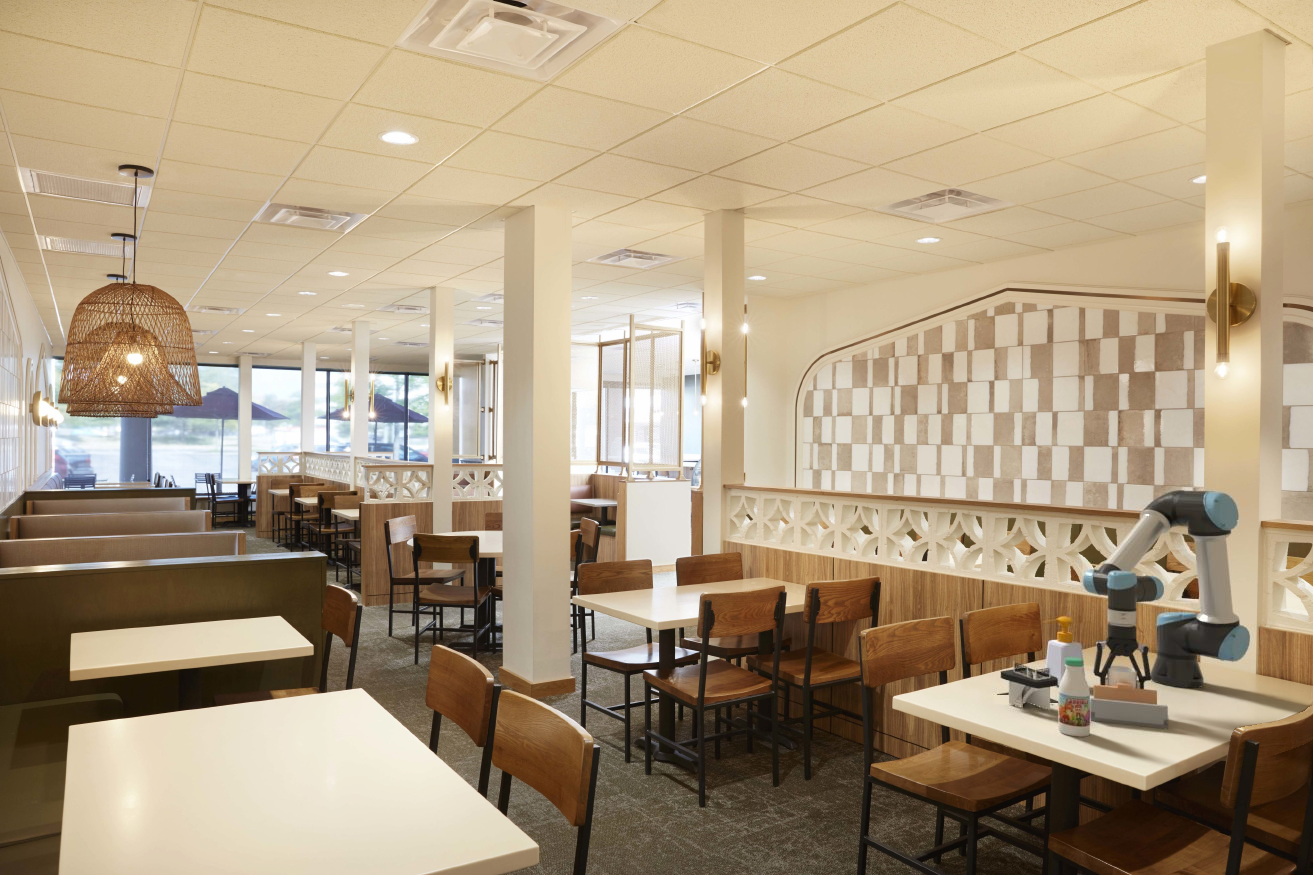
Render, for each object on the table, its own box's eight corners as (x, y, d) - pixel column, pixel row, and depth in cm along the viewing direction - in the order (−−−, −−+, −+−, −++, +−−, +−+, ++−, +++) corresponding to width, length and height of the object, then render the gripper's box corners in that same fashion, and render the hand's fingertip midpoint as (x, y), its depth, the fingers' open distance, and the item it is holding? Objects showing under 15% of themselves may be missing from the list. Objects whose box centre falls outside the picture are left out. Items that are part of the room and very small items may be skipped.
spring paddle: (1155, 714, 249) (1155, 685, 249) (1157, 716, 246) (1157, 687, 246) (1093, 707, 255) (1093, 679, 255) (1094, 710, 252) (1094, 681, 252)
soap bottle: (1031, 682, 287) (1031, 615, 288) (1065, 679, 292) (1065, 613, 292) (1053, 690, 278) (1053, 620, 279) (1087, 687, 283) (1087, 618, 283)
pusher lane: (1155, 710, 258) (1155, 689, 258) (1167, 728, 240) (1167, 706, 240) (1084, 702, 264) (1084, 682, 265) (1091, 720, 247) (1091, 699, 247)
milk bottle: (1052, 728, 239) (1052, 655, 239) (1079, 727, 240) (1079, 655, 240) (1068, 737, 231) (1068, 662, 232) (1096, 737, 232) (1096, 661, 232)
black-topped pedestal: (961, 700, 267) (961, 657, 266) (1026, 689, 277) (1026, 647, 277) (1033, 731, 241) (1033, 683, 241) (1101, 717, 251) (1102, 671, 251)
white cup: (1129, 699, 260) (1130, 665, 260) (1142, 707, 252) (1142, 672, 252) (1102, 698, 261) (1102, 664, 261) (1113, 706, 253) (1113, 671, 253)
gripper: (1084, 623, 257) (1084, 701, 257) (1163, 629, 250) (1163, 709, 249) (1082, 619, 264) (1082, 694, 264) (1159, 624, 257) (1159, 702, 256)
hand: (1121, 701), depth 256 cm, fingers closed on white cup, 7 cm apart
